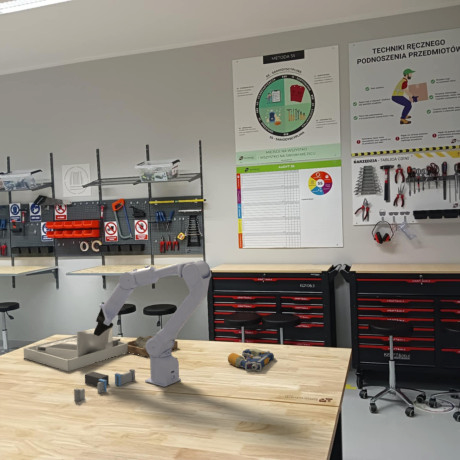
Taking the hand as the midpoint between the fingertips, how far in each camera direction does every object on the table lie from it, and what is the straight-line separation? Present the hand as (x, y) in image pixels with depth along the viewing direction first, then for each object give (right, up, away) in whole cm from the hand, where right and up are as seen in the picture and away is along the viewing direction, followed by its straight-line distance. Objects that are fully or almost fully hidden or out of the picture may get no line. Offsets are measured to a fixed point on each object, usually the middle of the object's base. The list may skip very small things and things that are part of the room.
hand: (97, 328), depth 161 cm
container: (-15, -16, +25) cm, 33 cm away
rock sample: (+14, -16, +29) cm, 36 cm away
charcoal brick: (+3, -17, -9) cm, 19 cm away
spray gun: (+55, -16, +8) cm, 58 cm away
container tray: (-16, -17, +25) cm, 34 cm away
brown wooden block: (+13, -16, +30) cm, 36 cm away
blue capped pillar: (+8, -16, -15) cm, 24 cm away
